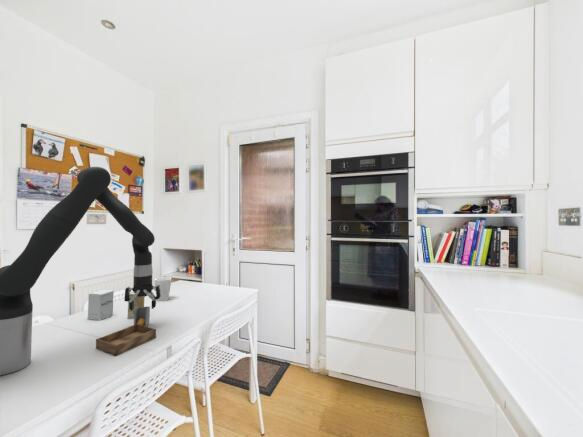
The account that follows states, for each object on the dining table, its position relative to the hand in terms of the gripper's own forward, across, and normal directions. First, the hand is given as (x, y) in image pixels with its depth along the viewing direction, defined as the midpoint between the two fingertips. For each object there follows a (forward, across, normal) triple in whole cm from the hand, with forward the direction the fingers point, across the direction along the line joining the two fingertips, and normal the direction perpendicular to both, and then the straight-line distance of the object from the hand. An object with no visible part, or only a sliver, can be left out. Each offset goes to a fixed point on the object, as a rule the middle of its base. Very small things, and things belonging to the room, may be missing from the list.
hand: (142, 309), depth 115 cm
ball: (+6, 0, -1) cm, 6 cm away
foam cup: (+8, 0, +40) cm, 40 cm away
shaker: (+8, 0, 0) cm, 8 cm away
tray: (+8, -1, -17) cm, 18 cm away
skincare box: (+8, -6, +13) cm, 16 cm away
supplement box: (+8, -23, +16) cm, 29 cm away
